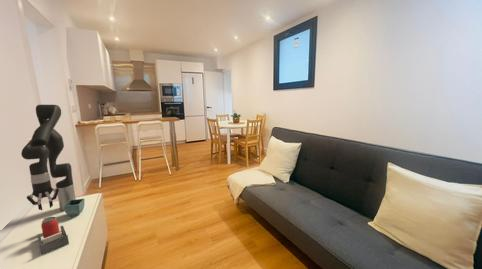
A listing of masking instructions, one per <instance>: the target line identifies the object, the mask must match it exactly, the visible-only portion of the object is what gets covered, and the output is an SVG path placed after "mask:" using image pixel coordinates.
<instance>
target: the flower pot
mask: <svg viewBox="0 0 482 269" xmlns="http://www.w3.org/2000/svg"><path fill="white" fill-rule="evenodd" d="M85 202H86V201H85V198H78V199H77V198H76V200H70V201H69V202H68V203H66V204H65V205H64V206H63V207H64V210H65V211H64V212H65V214H66V215H67V216H68V217H76V216H80V214H81V213H82V212H83V210H84V208H85Z"/></svg>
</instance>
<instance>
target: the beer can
mask: <svg viewBox="0 0 482 269" xmlns="http://www.w3.org/2000/svg"><path fill="white" fill-rule="evenodd" d="M48 217H49V218H47V217H45V218H46V219H45V218H44V219H43V220H42V221H41V230H42V231H41V232H42V237H43V239H44V238H47V237H49V236H52V235H55V234H57V233H60V232H61V230H60V227H59V221H58V219H57V218H56V216H48Z"/></svg>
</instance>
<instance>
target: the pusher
mask: <svg viewBox="0 0 482 269" xmlns="http://www.w3.org/2000/svg"><path fill="white" fill-rule="evenodd" d="M61 237H63V235H62V232H61V231H60V233H57V234H55V235H52V236H49V237H47V238H44V237H43V238H41V241H42V245H43V244H45V243H48V242H50V241H53V240H56V239H58V238H61Z"/></svg>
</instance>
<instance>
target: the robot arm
mask: <svg viewBox="0 0 482 269" xmlns="http://www.w3.org/2000/svg"><path fill="white" fill-rule="evenodd" d="M35 115H36V118H37V121H38V124H39V126H38V127H37V128H36V129H35V130H34V132H33V134H32V137H31V139H30V140H29V141H28V142H27V144H26V145H25V146H24V147H23V148H22V150H21V155H20V156H21V157H22V158H23V159H25V160H27V161H28V160H39V161H37V162H34V163H30V164H29V167H28V169H29V175H30V183H31V186H32V193H31V194H30V195H26V199H27V201H29V202H30V204H32V206H35V205H37V207H38V211H43V206H42V199H43V198H47V199H48V205H49V208H52V207H53V206H54V203H53V201H55V200H56V199H57V200H58V206H59V211H61V212H65V210H64V207H63V206H64V205H65V204H66V203H68V202H69V201H70V200H76V199H77V198H76V193H75V187H74V179H73V170H72V165H71V163H69V162H68V163H67V162H66V163H59V164H57V159H58V158H59V156H60V154H61V153H62V151H63V149H64V146H65V145H64V144H65V143H64V140H63V139H64V138H63V136H62V135H61V134H60V133H59V132H58V131H57V130H56V129H55V127H56V125H57V123H58V122H59V120H60V118H61V116H62V109H61V107H60V106H59V105H57V104H38V105H36V106H35ZM48 165H49V170H48ZM49 172H50V174H49ZM51 178H53V179H57V178H59V179H60V178H64V179H62V180H60V181H58V182H56V184H55V188H53V187H52V182H51ZM52 193H54V194H53V196H51V194H52ZM33 197H35V198H37V201H36V200H34V198H33Z"/></svg>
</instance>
